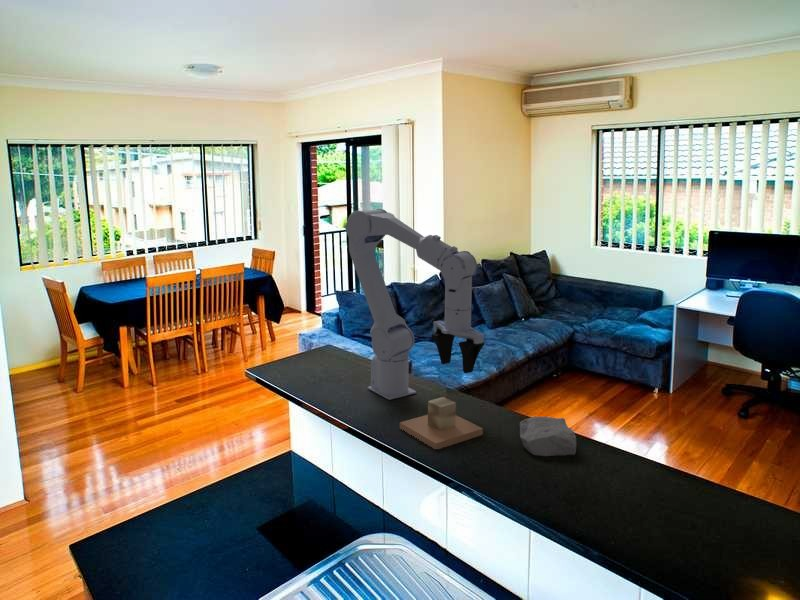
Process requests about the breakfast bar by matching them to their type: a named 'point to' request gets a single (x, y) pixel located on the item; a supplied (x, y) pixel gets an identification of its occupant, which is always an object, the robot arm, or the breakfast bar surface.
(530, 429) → the stone block
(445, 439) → the terracotta tile
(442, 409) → the birch block
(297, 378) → the breakfast bar surface
